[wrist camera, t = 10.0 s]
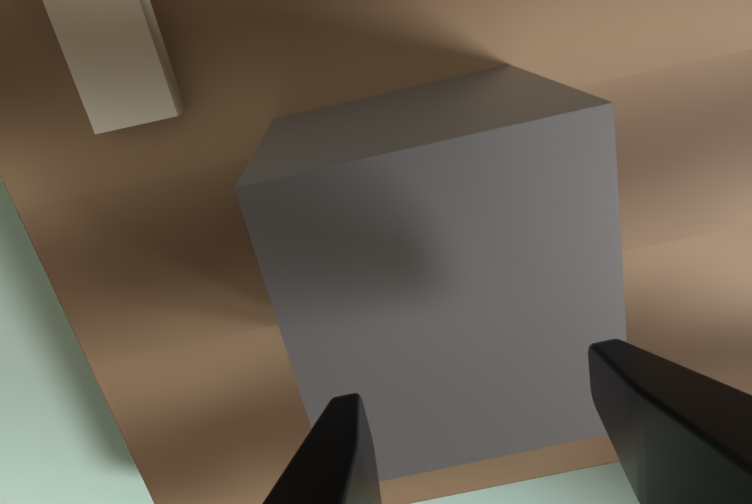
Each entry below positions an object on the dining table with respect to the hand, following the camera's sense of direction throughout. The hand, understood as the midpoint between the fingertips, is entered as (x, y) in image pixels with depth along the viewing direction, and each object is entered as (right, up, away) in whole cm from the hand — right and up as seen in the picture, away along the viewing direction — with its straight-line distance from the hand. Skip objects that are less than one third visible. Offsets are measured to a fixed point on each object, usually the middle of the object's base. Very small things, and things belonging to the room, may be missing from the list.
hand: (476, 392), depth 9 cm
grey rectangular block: (-1, +4, +10) cm, 11 cm away
